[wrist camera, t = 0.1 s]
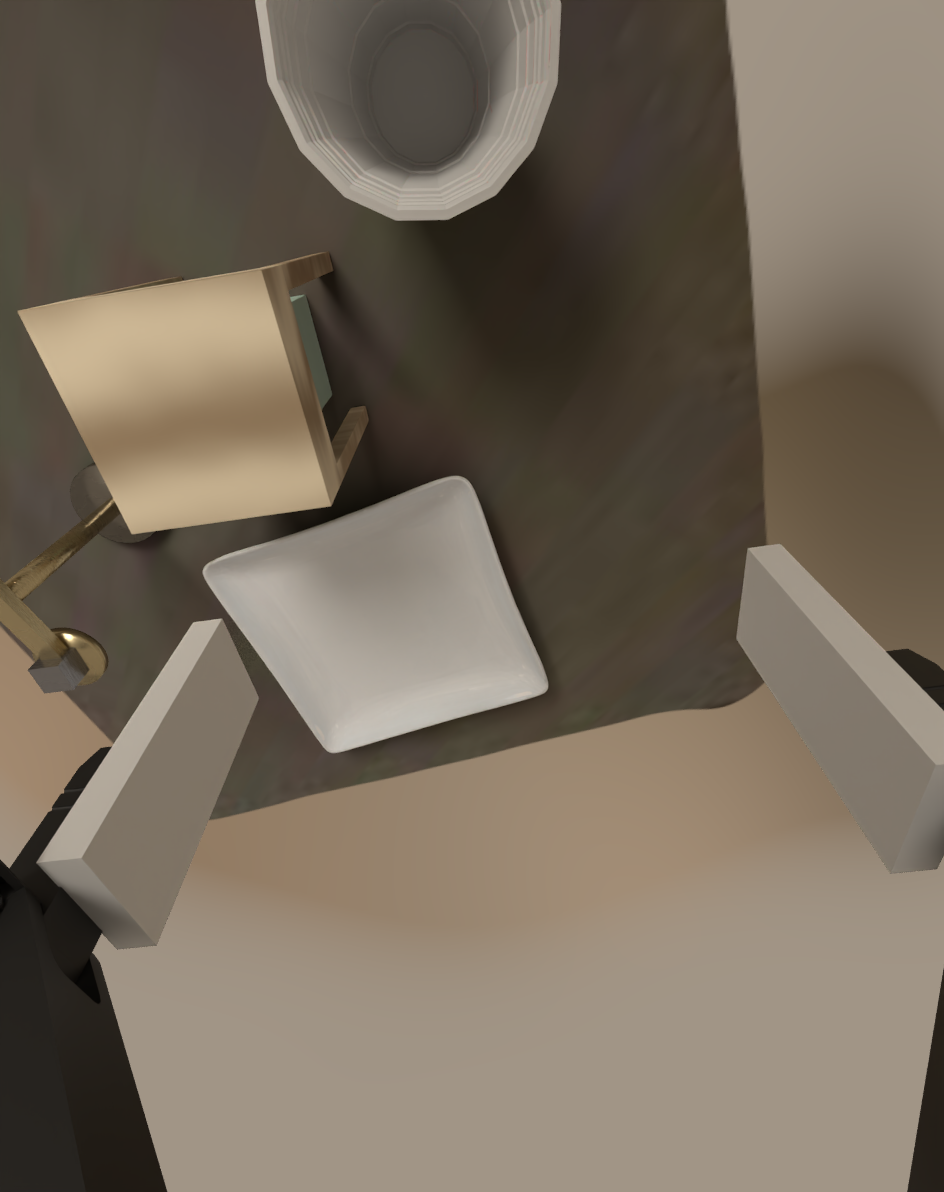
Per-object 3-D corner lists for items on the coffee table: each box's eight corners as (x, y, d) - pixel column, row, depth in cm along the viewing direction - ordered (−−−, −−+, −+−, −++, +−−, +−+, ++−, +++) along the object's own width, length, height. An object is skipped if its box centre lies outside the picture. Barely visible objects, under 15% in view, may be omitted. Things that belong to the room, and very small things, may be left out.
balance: (28, 404, 39) (-178, 494, 26) (114, 391, 38) (-52, 476, 26) (128, 589, 47) (8, 726, 34) (201, 579, 46) (106, 714, 34)
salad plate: (466, 453, 42) (466, 471, 39) (548, 669, 53) (553, 695, 50) (208, 546, 45) (191, 569, 42) (336, 730, 56) (329, 757, 53)
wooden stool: (165, 278, 35) (17, 311, 23) (328, 251, 34) (261, 270, 23) (226, 441, 40) (131, 534, 29) (368, 420, 40) (331, 506, 28)
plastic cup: (544, 194, 33) (582, 185, 23) (360, 241, 34) (319, 252, 24) (511, -82, 27) (542, -255, 17) (291, -15, 28) (199, -142, 18)
